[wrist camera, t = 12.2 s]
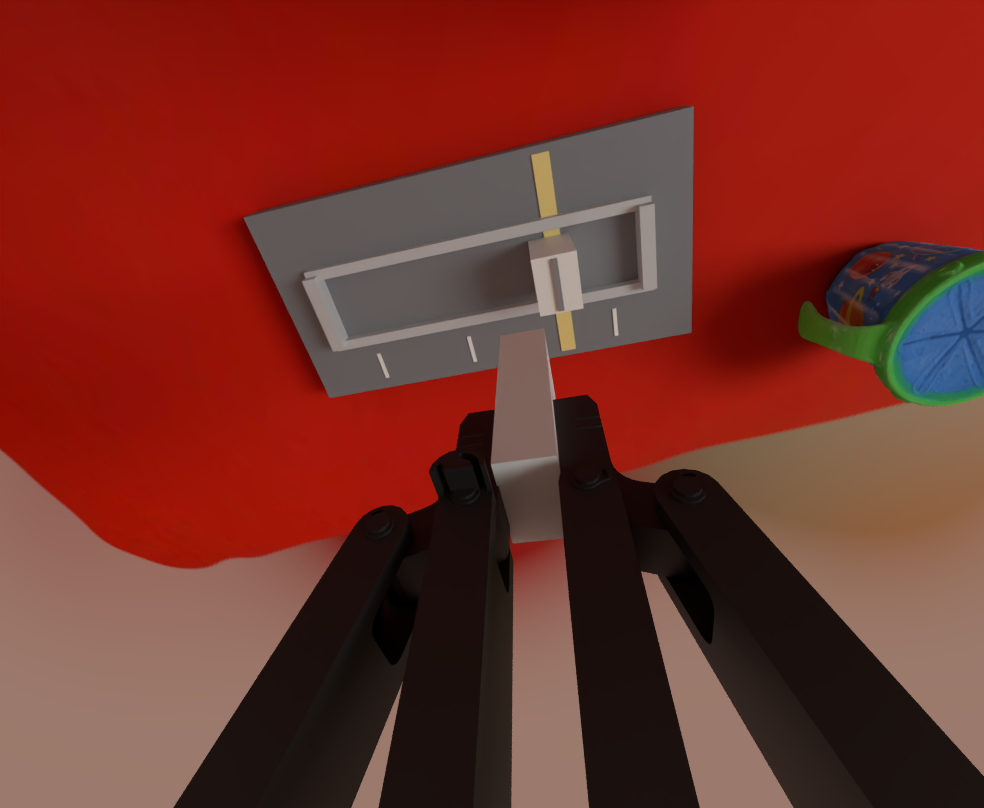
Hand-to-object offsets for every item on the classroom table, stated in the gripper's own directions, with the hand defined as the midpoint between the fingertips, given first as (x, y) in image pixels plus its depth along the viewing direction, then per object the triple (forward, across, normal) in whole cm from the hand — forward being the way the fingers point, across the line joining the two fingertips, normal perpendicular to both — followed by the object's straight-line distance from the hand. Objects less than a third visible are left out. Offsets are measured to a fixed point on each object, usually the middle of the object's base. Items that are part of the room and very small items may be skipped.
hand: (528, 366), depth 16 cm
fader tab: (+21, +2, -3) cm, 22 cm away
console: (+24, -4, -4) cm, 24 cm away
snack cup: (+24, +27, -11) cm, 38 cm away
